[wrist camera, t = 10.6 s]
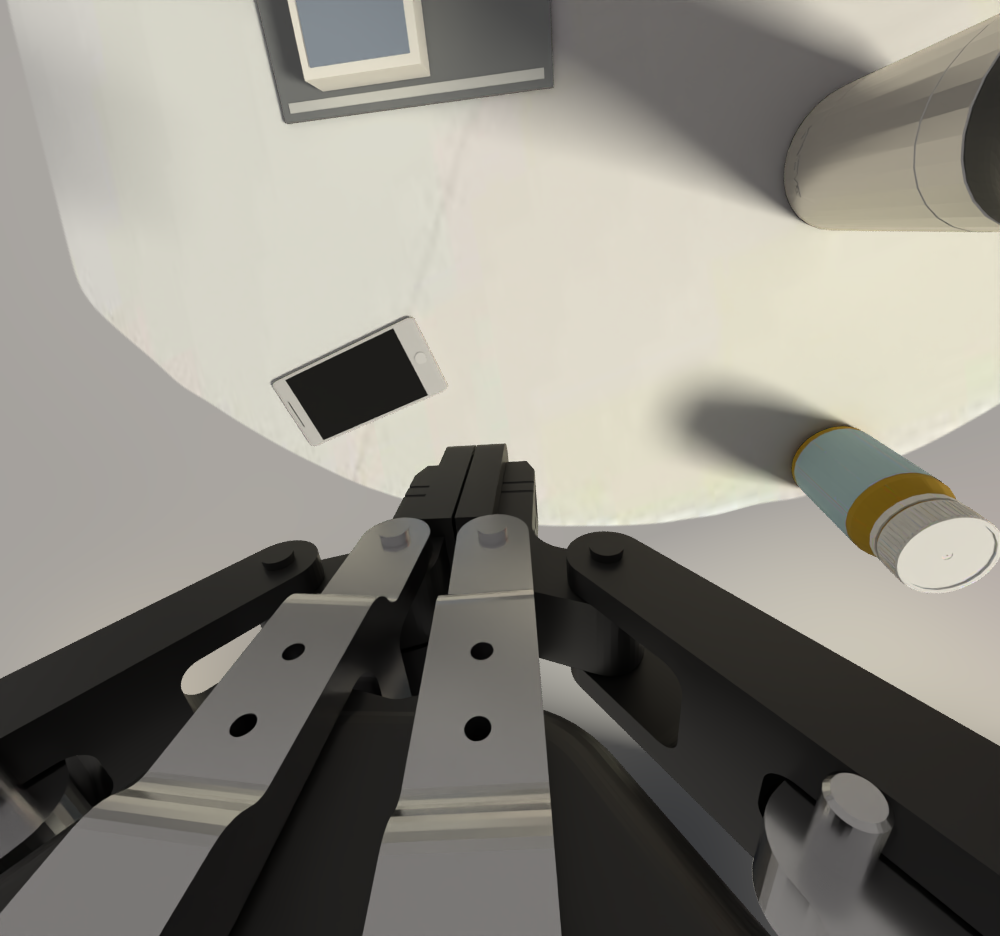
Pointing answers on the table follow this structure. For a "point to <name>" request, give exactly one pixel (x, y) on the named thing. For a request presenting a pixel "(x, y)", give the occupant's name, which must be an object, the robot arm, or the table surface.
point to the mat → (451, 54)
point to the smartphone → (362, 383)
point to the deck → (359, 41)
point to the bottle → (895, 511)
